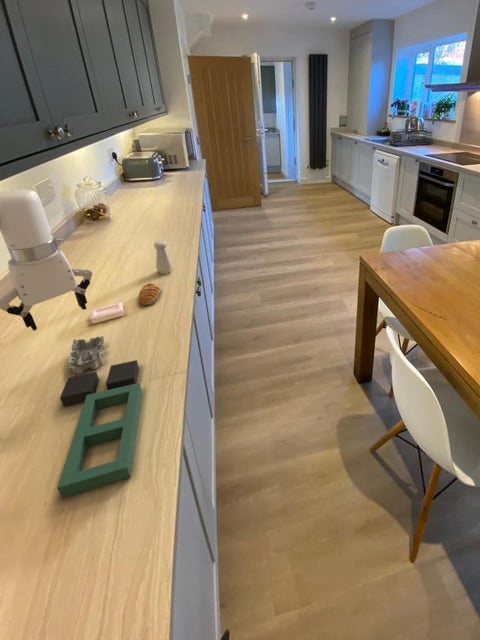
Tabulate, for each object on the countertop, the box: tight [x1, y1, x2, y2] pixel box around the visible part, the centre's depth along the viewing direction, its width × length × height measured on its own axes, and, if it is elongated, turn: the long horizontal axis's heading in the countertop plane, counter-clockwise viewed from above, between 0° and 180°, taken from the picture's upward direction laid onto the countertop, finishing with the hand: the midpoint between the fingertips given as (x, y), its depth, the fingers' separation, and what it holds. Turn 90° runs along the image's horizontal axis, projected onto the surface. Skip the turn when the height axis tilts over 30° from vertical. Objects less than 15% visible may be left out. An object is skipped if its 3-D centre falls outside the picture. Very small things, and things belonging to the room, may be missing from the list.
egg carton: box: [68, 335, 105, 375], centre depth 86 cm, size 11×8×4 cm
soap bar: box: [89, 302, 125, 325], centre depth 103 cm, size 5×9×2 cm, turn 120°
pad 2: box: [105, 359, 140, 390], centre depth 80 cm, size 6×6×3 cm
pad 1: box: [59, 371, 100, 408], centre depth 76 cm, size 6×6×3 cm
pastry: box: [138, 282, 161, 306], centre depth 112 cm, size 9×7×4 cm
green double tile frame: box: [56, 382, 143, 499], centre depth 66 cm, size 11×20×3 cm, turn 18°
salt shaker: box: [153, 240, 173, 275], centre depth 127 cm, size 6×6×13 cm
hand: (59, 316), depth 74 cm, fingers open, 9 cm apart
